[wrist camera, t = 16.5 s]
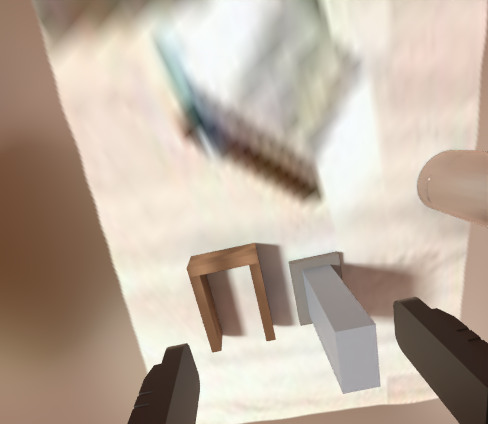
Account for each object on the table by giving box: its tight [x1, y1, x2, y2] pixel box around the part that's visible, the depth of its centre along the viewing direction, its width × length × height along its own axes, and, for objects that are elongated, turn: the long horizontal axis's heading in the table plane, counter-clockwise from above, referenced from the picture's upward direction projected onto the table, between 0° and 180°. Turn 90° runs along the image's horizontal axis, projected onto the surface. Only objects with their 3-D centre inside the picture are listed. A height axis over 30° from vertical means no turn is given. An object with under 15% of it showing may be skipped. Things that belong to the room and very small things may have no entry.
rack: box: [187, 243, 276, 353], centre depth 41 cm, size 10×16×4 cm
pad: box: [289, 252, 342, 326], centre depth 43 cm, size 8×12×1 cm, turn 12°
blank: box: [302, 265, 380, 394], centre depth 36 cm, size 4×9×14 cm, turn 12°
